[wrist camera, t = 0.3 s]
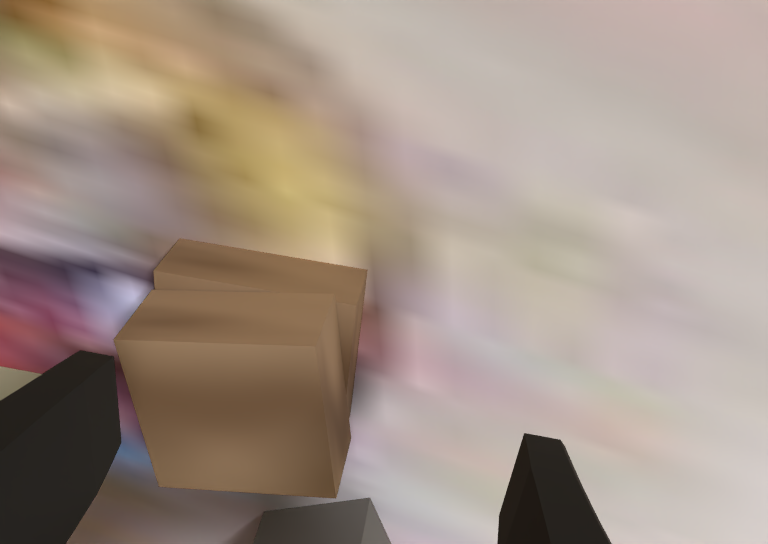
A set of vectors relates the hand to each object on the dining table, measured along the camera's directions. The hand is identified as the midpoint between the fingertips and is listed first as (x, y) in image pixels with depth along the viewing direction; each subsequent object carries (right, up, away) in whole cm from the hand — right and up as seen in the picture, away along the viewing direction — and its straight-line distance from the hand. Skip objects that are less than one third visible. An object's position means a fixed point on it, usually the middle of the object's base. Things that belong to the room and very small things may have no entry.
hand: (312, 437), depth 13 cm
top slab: (-3, 0, +10) cm, 10 cm away
